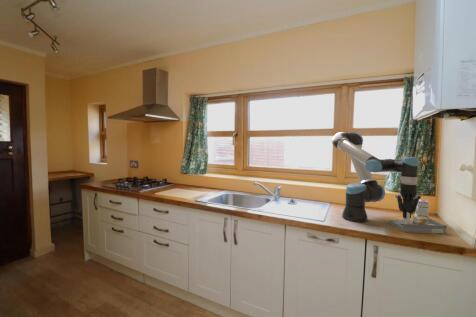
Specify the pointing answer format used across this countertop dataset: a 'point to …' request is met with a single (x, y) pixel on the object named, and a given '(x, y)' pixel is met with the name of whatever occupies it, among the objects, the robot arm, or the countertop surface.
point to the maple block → (420, 220)
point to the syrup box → (422, 208)
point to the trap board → (419, 226)
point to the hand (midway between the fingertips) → (406, 223)
